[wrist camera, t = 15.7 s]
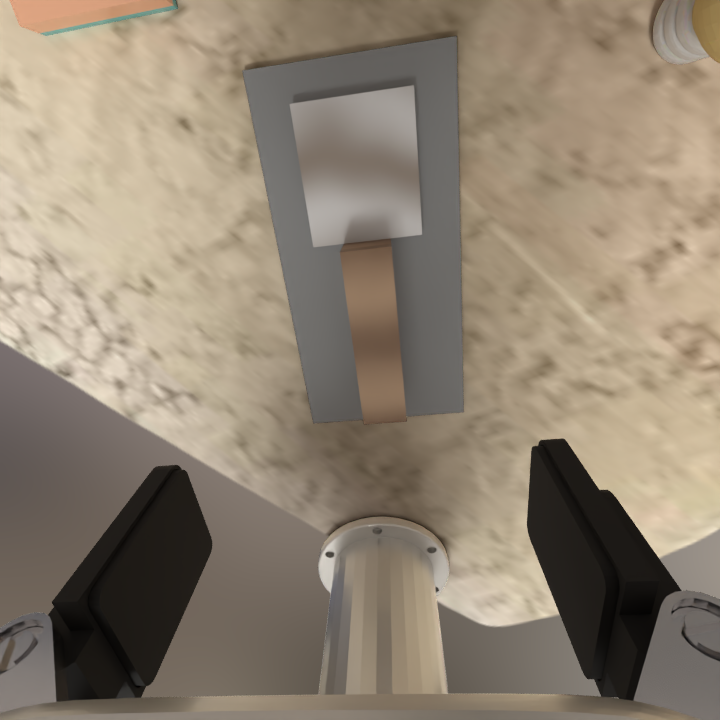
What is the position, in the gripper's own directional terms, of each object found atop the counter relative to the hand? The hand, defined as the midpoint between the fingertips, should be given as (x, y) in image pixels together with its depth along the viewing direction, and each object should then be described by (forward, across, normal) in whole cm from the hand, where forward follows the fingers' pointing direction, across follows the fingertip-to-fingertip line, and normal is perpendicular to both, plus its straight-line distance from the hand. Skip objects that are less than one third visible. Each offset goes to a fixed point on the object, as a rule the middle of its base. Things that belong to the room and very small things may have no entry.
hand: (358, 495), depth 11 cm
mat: (+20, 0, -2) cm, 20 cm away
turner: (+19, 0, -2) cm, 19 cm away
